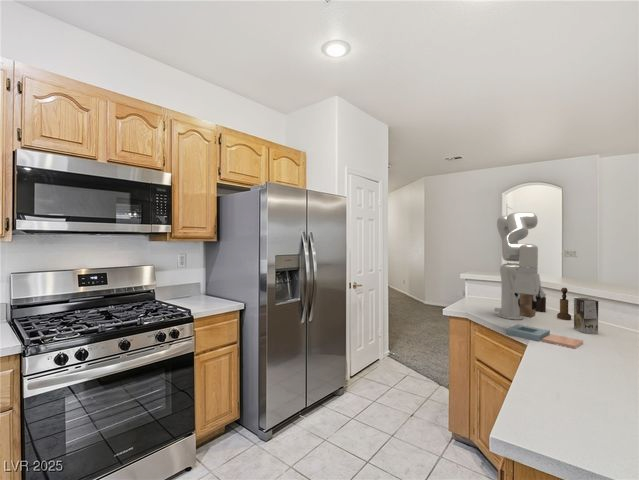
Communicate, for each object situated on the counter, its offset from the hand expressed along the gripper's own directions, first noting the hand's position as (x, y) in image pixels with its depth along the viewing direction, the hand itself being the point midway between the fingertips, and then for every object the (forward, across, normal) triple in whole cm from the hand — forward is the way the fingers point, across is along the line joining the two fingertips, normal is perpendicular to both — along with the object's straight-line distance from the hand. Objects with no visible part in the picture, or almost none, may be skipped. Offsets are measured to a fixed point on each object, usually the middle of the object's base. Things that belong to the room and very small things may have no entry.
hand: (527, 307), depth 156 cm
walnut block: (+4, 0, 0) cm, 4 cm away
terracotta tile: (+13, +14, -1) cm, 19 cm away
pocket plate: (+13, 0, -1) cm, 13 cm away
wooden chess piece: (+14, 0, +52) cm, 54 cm away
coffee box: (+14, +15, +30) cm, 37 cm away
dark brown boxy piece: (+14, -18, +62) cm, 66 cm away
